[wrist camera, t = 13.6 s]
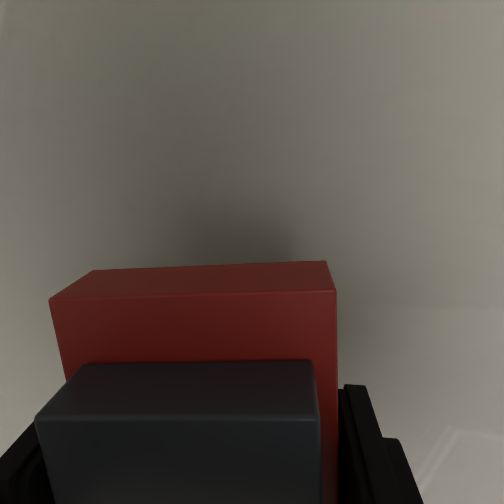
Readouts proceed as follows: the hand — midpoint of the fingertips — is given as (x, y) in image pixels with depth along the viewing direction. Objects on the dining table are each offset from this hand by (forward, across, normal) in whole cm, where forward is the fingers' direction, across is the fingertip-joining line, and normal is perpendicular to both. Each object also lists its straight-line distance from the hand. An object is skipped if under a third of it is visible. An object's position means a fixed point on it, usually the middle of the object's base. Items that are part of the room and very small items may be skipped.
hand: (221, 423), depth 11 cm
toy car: (-1, +3, 0) cm, 3 cm away
